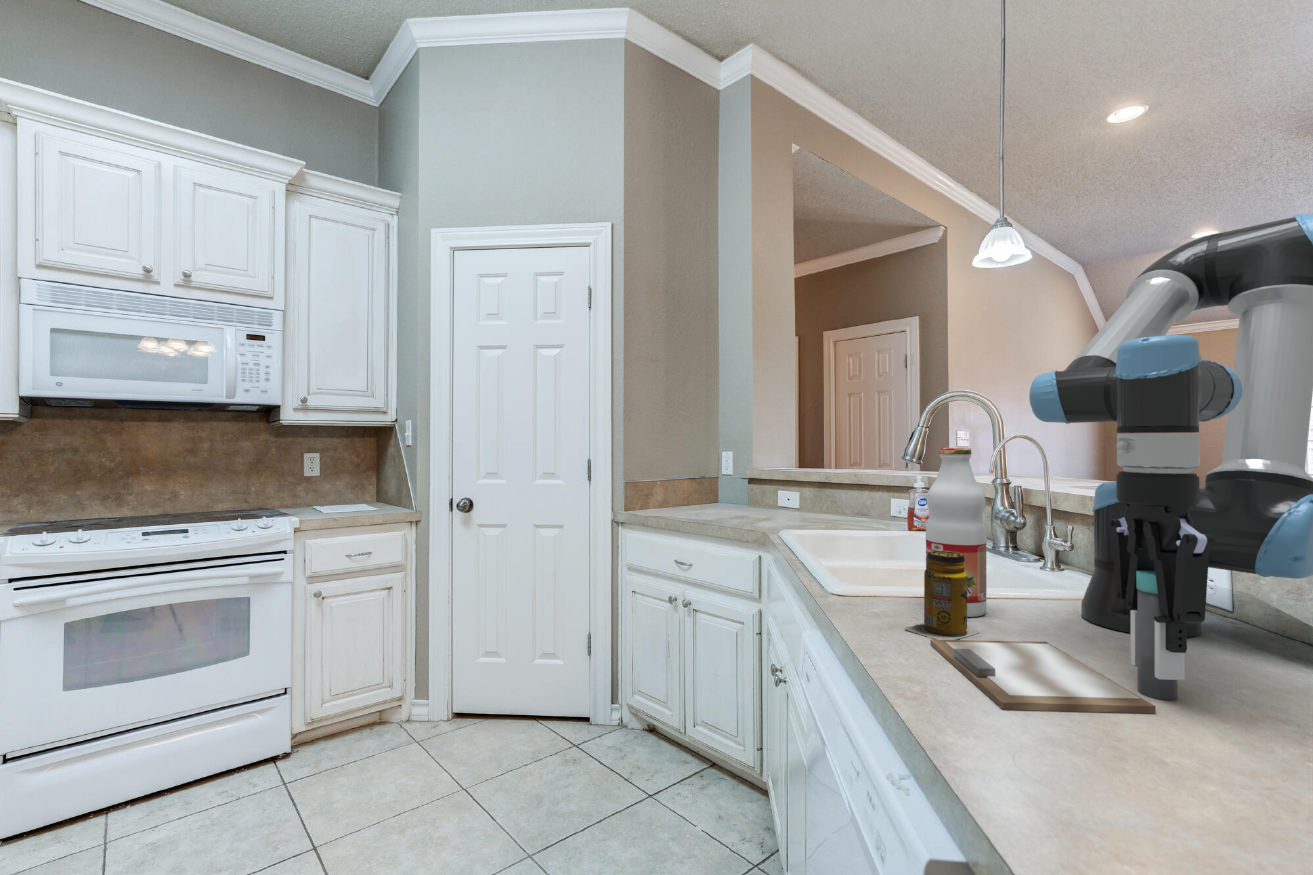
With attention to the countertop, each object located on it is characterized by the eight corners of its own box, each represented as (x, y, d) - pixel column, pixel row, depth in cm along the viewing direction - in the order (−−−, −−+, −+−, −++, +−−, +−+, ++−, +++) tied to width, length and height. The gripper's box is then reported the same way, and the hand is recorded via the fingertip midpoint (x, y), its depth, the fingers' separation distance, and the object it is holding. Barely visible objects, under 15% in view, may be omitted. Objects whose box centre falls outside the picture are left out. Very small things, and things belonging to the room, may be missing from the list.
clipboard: (1046, 647, 88) (1046, 633, 88) (1155, 713, 67) (1155, 696, 67) (930, 645, 89) (930, 631, 89) (1002, 709, 68) (1002, 692, 68)
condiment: (979, 633, 94) (979, 554, 94) (947, 643, 90) (947, 560, 90) (935, 621, 100) (935, 547, 100) (903, 630, 96) (903, 553, 96)
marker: (1162, 687, 74) (1161, 569, 74) (1187, 700, 70) (1187, 577, 70) (1128, 686, 74) (1128, 569, 74) (1152, 700, 70) (1151, 576, 70)
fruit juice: (999, 614, 104) (999, 448, 104) (956, 620, 100) (956, 448, 100) (954, 600, 112) (954, 447, 112) (913, 605, 109) (913, 447, 109)
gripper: (1079, 466, 80) (1080, 647, 80) (1176, 474, 64) (1177, 700, 64) (1140, 466, 80) (1140, 648, 80) (1253, 474, 63) (1253, 702, 64)
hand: (1156, 671), depth 72 cm, fingers closed on marker, 3 cm apart
